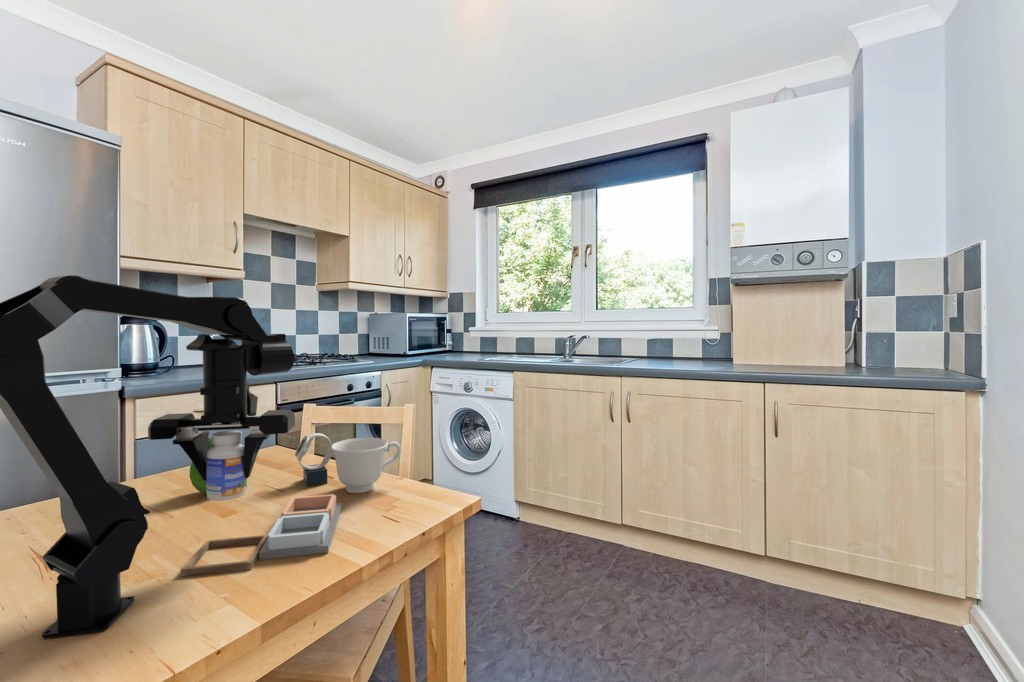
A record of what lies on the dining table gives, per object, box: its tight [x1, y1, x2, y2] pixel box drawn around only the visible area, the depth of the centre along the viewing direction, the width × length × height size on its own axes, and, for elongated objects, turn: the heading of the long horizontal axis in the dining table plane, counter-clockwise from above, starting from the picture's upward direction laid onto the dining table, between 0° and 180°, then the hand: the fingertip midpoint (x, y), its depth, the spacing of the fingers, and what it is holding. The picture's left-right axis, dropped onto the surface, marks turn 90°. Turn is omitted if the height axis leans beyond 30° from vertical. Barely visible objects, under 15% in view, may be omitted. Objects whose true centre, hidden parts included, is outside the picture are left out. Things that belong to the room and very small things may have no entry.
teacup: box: [331, 437, 402, 494], centre depth 103 cm, size 12×15×10 cm
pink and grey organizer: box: [258, 493, 343, 561], centre depth 82 cm, size 18×10×3 cm, turn 14°
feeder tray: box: [180, 534, 268, 577], centre depth 73 cm, size 9×9×1 cm
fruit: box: [189, 436, 214, 495], centre depth 100 cm, size 8×8×12 cm
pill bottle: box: [206, 430, 248, 502], centre depth 72 cm, size 5×5×10 cm
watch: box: [294, 432, 334, 488], centre depth 107 cm, size 6×8×11 cm
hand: (227, 478), depth 72 cm, fingers closed on pill bottle, 5 cm apart
